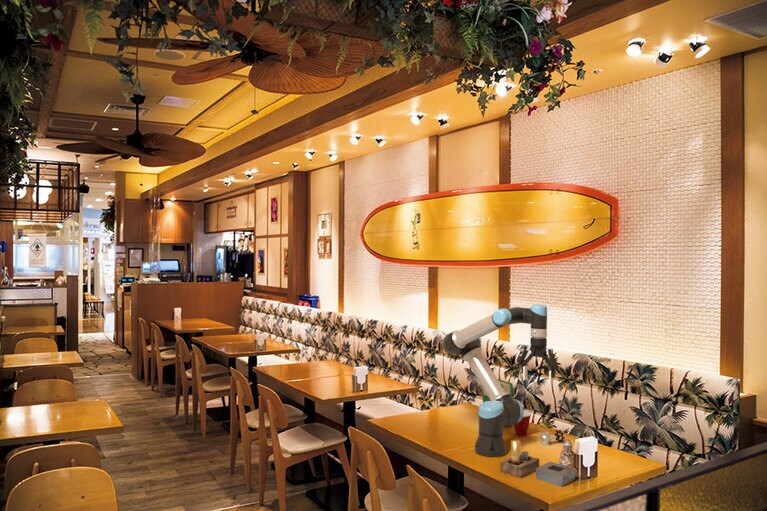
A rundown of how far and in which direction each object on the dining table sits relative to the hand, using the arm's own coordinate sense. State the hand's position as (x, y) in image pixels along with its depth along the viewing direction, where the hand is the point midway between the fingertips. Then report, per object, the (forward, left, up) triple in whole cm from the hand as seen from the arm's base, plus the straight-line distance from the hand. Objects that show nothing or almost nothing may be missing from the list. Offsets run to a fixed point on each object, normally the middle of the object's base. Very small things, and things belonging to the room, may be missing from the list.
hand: (537, 382), depth 282 cm
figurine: (+18, -5, -35) cm, 40 cm away
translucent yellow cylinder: (+5, -28, -35) cm, 45 cm away
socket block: (+21, -22, -35) cm, 46 cm away
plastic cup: (-22, +23, -35) cm, 47 cm away
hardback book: (-43, +33, -35) cm, 65 cm away
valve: (-4, +21, -35) cm, 41 cm away
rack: (+5, -24, -35) cm, 42 cm away
